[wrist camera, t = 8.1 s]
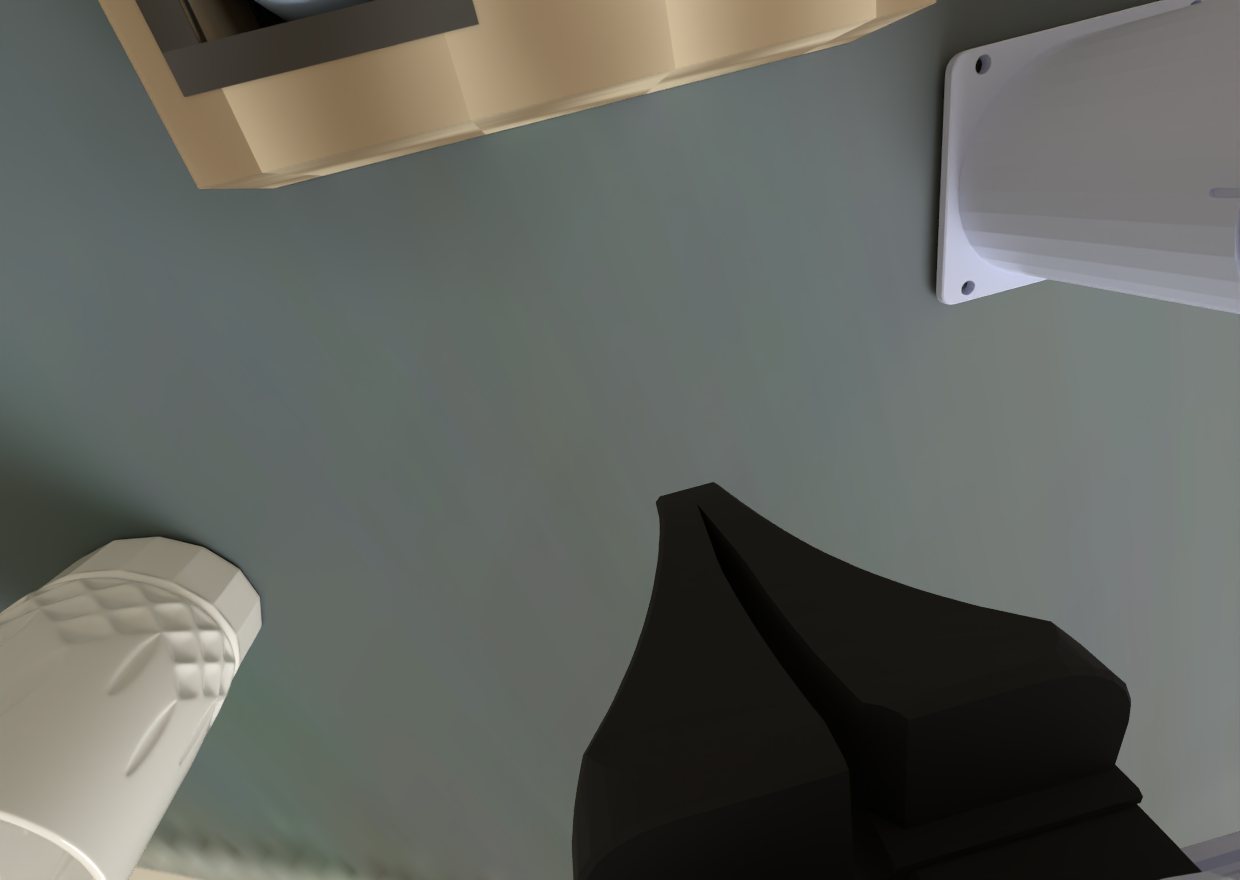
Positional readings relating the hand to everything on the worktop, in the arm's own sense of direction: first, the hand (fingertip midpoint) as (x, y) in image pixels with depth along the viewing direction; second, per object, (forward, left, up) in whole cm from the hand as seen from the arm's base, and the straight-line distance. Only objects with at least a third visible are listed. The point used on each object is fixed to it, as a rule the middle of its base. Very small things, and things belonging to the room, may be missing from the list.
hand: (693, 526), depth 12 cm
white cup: (+20, +4, -10) cm, 23 cm away
